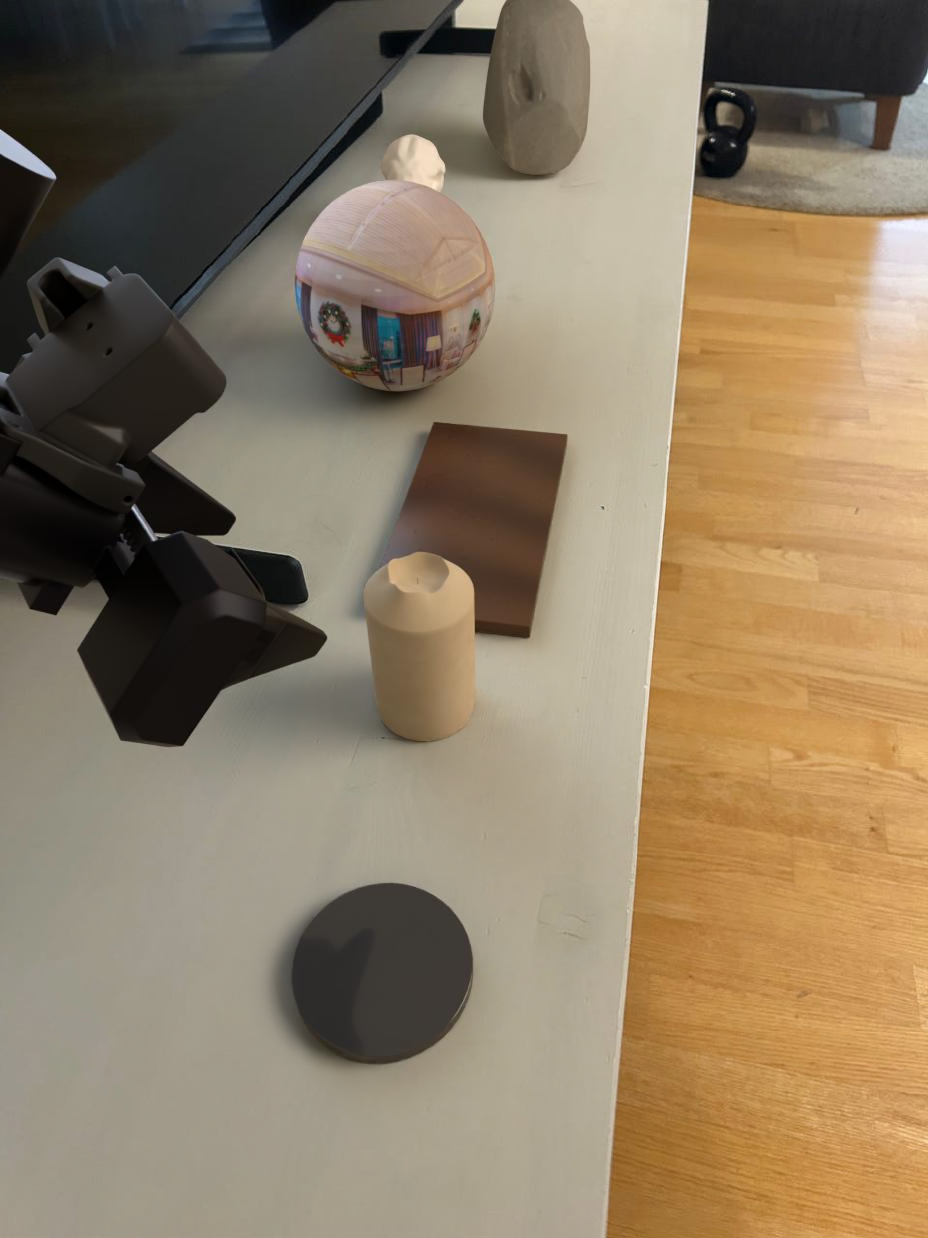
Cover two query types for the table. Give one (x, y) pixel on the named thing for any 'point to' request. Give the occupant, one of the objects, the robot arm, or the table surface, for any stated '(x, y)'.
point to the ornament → (395, 285)
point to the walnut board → (485, 515)
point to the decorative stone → (538, 85)
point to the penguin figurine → (414, 162)
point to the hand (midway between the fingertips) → (272, 580)
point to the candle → (422, 645)
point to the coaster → (382, 972)
